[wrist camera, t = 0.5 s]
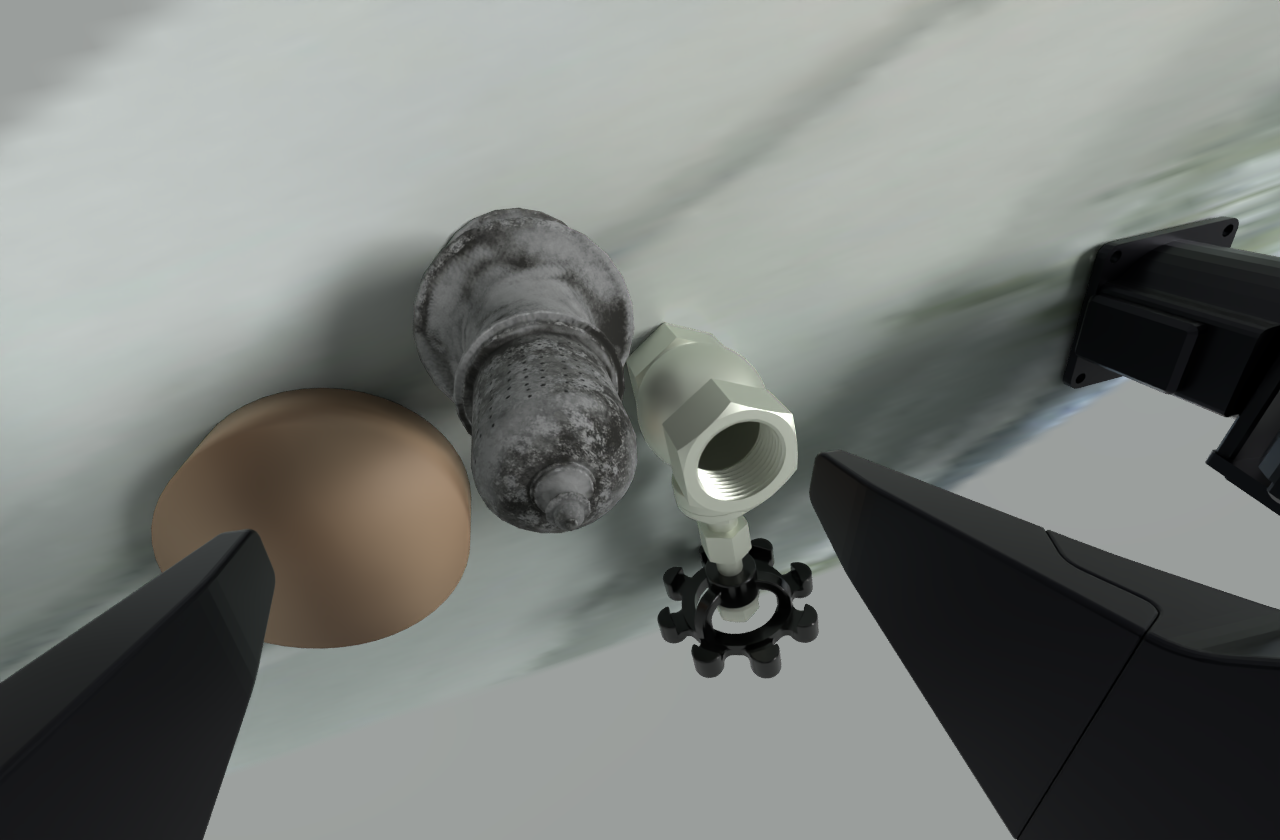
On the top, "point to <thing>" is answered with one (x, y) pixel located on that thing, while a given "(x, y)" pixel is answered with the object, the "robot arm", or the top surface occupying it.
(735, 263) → the top surface
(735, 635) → the valve
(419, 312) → the salt shaker
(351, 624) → the tan round disc
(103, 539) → the top surface
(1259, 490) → the robot arm
